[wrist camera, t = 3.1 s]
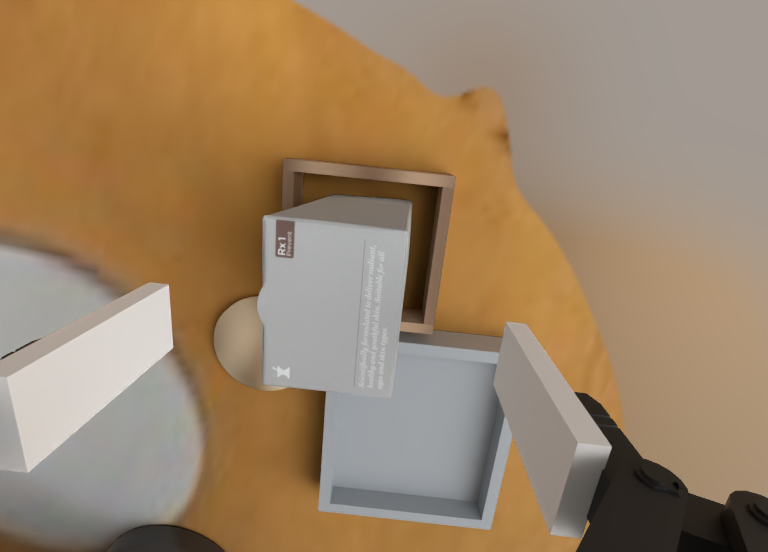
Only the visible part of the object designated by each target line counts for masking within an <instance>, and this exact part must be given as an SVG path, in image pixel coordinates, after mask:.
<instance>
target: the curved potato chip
mask: <svg viewBox="0 0 768 552" xmlns="http://www.w3.org/2000/svg"><path fill="white" fill-rule="evenodd" d="M257 299H258V296H252V297H247V298H244V299H241V300H239V301H237V302H235V303H234V304H233V305H231V306H230V307H229V308H228V309H227V310H226V311H225V312H224V313H223V314H222V315H221V317H220V318H219V320H218V322H217V324H216V327H215V331H214V348H215V352H216V355H217V357H218V359H219V361H220V363H221V365H222V366H223V368H224V369H225V370H226V371H227V372H228V373H229V374H230V375H231V376H232V377H233V378H234V379H236V380H237V381H239V382H240V383H242V384H244V385H246V386H249V387H251V388H255V389H259V390H266V391H274V390H281V389H285V388H288V387H279V386H269V385H265V384H264V383H263V381H262V322H261V320H260V318H259V315H258V310H257Z"/></svg>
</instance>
